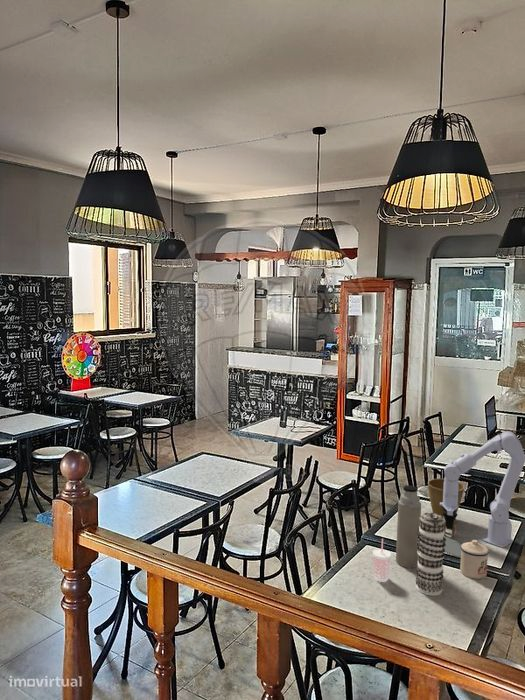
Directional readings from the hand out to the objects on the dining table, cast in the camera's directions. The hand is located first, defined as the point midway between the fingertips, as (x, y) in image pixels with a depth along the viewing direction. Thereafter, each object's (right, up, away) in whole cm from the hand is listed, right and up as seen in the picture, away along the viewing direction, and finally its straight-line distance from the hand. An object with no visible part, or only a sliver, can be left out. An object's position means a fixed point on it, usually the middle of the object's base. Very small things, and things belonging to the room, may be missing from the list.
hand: (449, 526), depth 218 cm
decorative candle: (-21, -7, -42) cm, 48 cm away
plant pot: (+3, -2, +15) cm, 15 cm away
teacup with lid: (-1, -6, -30) cm, 31 cm away
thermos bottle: (-24, -5, -24) cm, 34 cm away
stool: (0, -3, 0) cm, 3 cm away
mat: (-3, -4, -12) cm, 13 cm away
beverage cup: (-36, -6, -36) cm, 51 cm away
